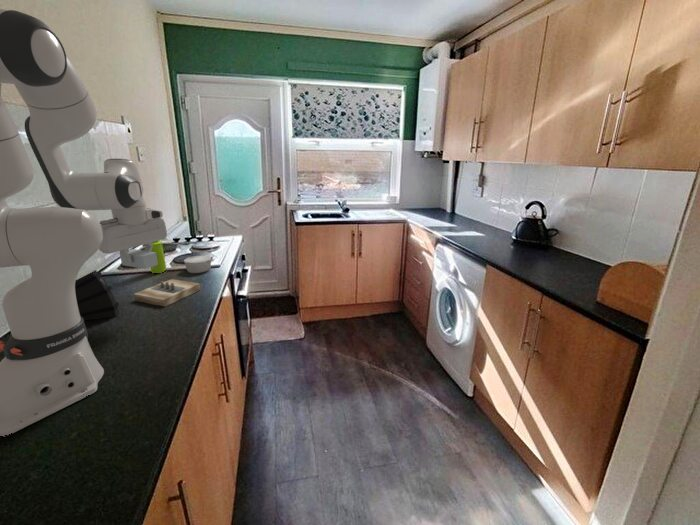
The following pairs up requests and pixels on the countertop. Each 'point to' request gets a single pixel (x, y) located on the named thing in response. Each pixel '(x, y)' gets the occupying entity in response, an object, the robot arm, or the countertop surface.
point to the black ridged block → (95, 297)
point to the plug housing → (140, 259)
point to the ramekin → (198, 264)
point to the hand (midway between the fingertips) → (139, 259)
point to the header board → (167, 292)
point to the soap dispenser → (158, 257)
